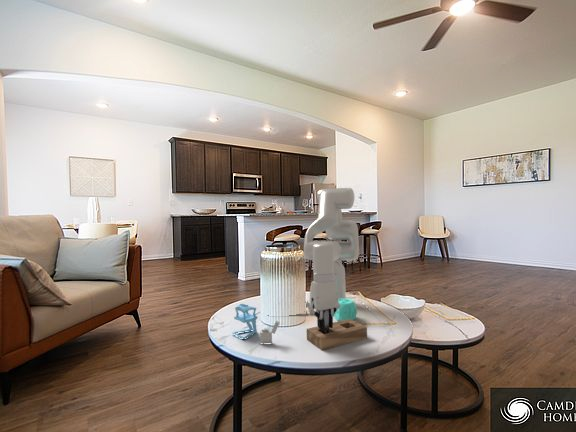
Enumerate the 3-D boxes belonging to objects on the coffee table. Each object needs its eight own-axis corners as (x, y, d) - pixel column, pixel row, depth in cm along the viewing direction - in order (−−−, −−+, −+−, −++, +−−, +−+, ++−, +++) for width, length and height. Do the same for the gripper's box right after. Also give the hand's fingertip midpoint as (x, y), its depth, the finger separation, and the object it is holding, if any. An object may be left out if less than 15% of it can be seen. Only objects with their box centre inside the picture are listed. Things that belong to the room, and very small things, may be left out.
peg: (319, 335, 109) (319, 308, 109) (326, 334, 110) (325, 307, 110) (324, 338, 106) (323, 310, 106) (331, 336, 108) (330, 309, 108)
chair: (260, 334, 117) (260, 303, 117) (243, 340, 111) (242, 308, 111) (249, 329, 122) (248, 299, 122) (231, 335, 117) (231, 304, 117)
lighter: (260, 344, 108) (259, 322, 108) (260, 342, 109) (260, 320, 109) (279, 344, 107) (279, 322, 107) (280, 342, 109) (279, 320, 109)
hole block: (306, 339, 111) (306, 328, 111) (350, 328, 119) (349, 318, 119) (321, 350, 102) (321, 338, 102) (367, 337, 111) (366, 327, 111)
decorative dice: (339, 323, 126) (339, 304, 126) (332, 316, 134) (332, 299, 134) (357, 321, 128) (356, 302, 128) (349, 315, 136) (348, 297, 135)
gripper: (336, 273, 115) (337, 320, 115) (299, 278, 108) (300, 329, 108) (348, 276, 108) (349, 326, 109) (309, 282, 101) (311, 336, 101)
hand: (325, 327), depth 108 cm, fingers closed on peg, 3 cm apart
